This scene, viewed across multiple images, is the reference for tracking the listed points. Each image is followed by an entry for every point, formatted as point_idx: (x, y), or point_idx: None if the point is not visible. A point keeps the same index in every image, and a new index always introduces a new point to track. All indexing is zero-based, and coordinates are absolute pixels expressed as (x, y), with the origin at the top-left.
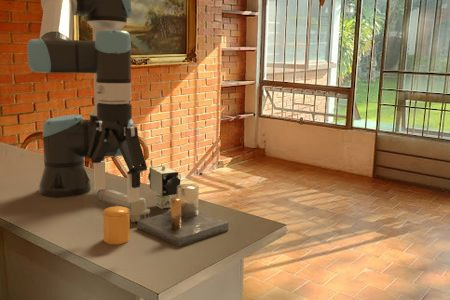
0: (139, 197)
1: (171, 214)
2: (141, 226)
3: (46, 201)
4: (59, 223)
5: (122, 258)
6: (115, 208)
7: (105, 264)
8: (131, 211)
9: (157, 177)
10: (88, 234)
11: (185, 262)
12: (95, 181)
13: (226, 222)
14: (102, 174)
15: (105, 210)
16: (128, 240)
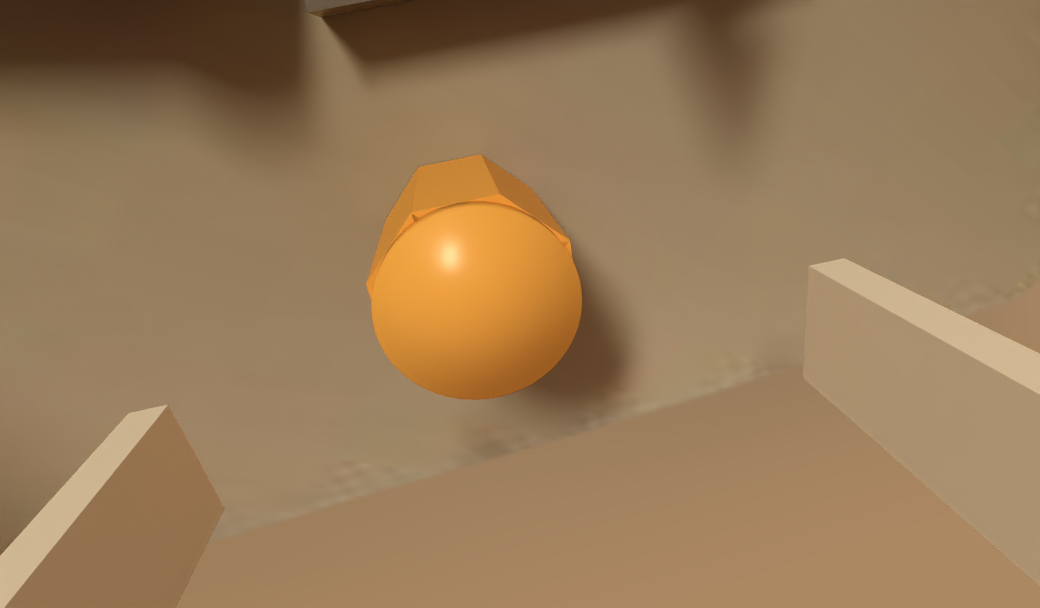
0: (870, 274)
1: None
2: (368, 5)
3: None
4: (27, 436)
5: (709, 296)
6: (431, 302)
7: (715, 376)
8: None
9: None
10: (302, 343)
11: (969, 36)
12: (173, 600)
13: None
14: (74, 600)
15: (444, 384)
16: (519, 181)
